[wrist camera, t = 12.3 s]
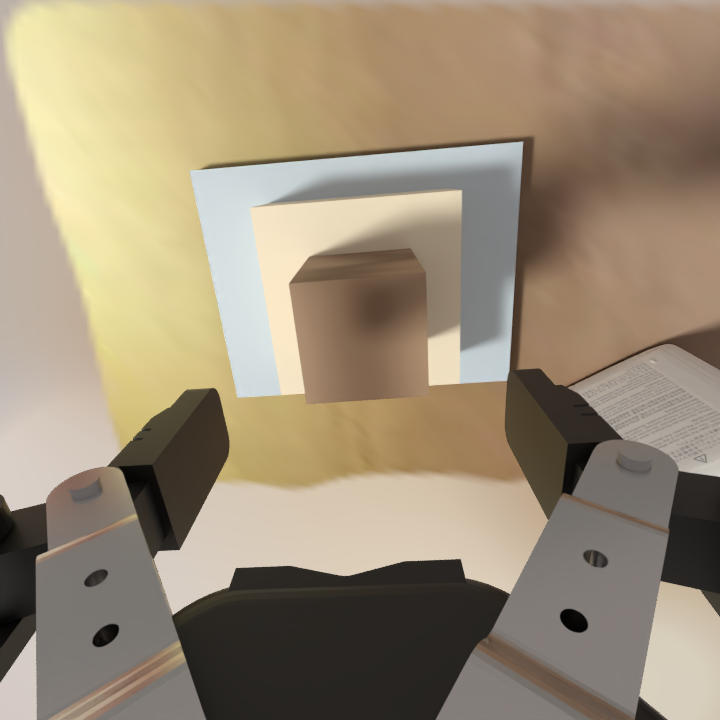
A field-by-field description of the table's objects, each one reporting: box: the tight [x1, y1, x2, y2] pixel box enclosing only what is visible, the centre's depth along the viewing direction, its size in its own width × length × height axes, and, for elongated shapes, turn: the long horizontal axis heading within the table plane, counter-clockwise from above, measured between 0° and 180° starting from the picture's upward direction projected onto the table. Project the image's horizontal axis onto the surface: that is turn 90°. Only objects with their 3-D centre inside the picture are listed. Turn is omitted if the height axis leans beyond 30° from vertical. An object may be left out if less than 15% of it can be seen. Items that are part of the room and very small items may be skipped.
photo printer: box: [568, 344, 720, 477], centre depth 24 cm, size 10×4×12 cm, turn 122°
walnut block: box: [289, 248, 429, 404], centre depth 19 cm, size 5×5×6 cm
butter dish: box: [190, 142, 523, 398], centre depth 24 cm, size 18×14×5 cm
